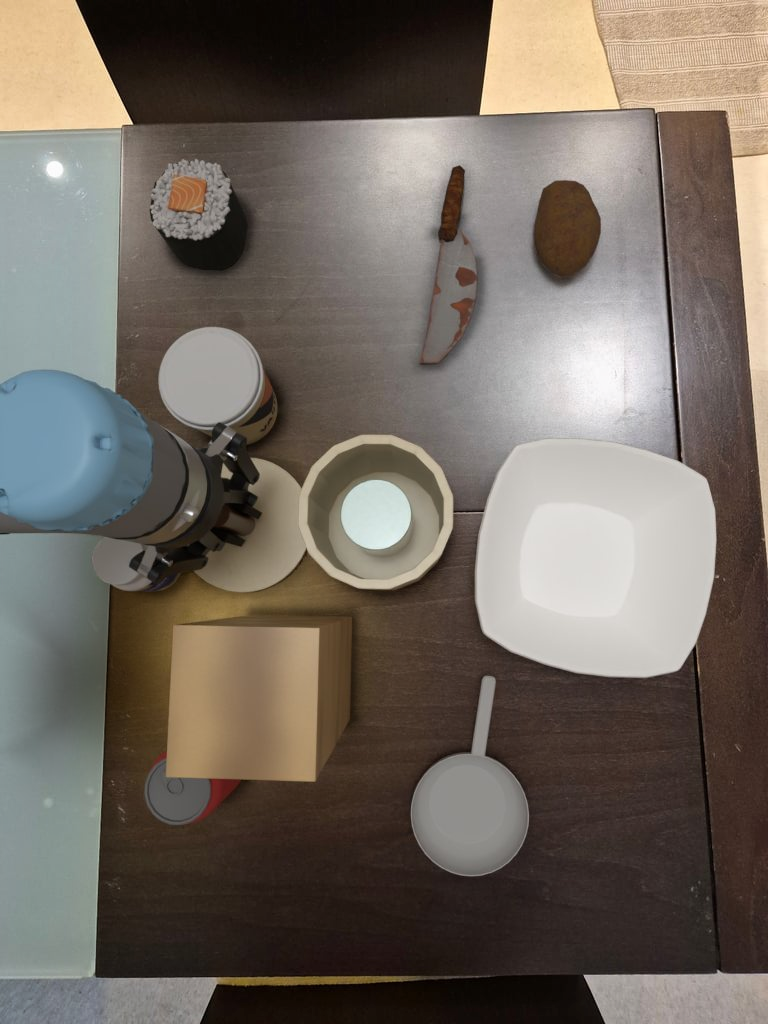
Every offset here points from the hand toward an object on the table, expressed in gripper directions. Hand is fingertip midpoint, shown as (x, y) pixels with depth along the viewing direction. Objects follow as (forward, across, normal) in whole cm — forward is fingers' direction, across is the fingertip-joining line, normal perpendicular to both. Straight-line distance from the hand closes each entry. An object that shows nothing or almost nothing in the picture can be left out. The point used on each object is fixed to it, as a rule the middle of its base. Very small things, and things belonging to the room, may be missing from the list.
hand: (240, 522), depth 72 cm
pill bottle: (+3, -8, +6) cm, 10 cm away
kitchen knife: (+3, +34, -5) cm, 34 cm away
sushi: (+3, +24, +20) cm, 31 cm away
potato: (+3, +42, -13) cm, 44 cm away
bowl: (+3, +14, -30) cm, 33 cm away
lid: (+2, 0, 0) cm, 2 cm away
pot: (+3, +7, -12) cm, 14 cm away
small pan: (+3, -8, -31) cm, 33 cm away
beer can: (+3, -21, -10) cm, 23 cm away
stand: (+3, -9, -12) cm, 15 cm away
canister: (+2, +7, -12) cm, 14 cm away
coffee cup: (+3, +10, +7) cm, 12 cm away
